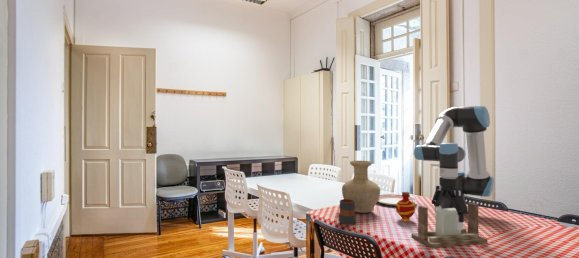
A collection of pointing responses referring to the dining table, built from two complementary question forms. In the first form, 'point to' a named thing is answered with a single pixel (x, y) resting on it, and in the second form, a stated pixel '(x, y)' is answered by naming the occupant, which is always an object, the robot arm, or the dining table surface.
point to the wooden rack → (451, 240)
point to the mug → (347, 212)
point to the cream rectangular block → (446, 222)
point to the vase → (361, 188)
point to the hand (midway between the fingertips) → (448, 224)
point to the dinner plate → (392, 199)
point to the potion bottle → (405, 207)
